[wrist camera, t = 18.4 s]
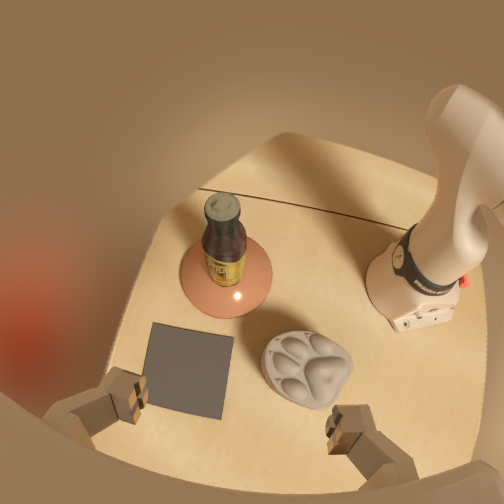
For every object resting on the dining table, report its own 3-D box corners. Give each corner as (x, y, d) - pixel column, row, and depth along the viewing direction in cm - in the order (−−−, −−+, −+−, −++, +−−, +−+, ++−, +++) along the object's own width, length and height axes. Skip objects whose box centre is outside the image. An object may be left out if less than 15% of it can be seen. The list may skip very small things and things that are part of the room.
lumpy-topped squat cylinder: (313, 414, 38) (328, 420, 31) (246, 375, 41) (246, 373, 34) (344, 361, 42) (365, 355, 35) (280, 323, 45) (288, 310, 38)
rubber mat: (233, 338, 44) (233, 337, 44) (221, 419, 38) (221, 419, 37) (153, 323, 44) (153, 322, 44) (138, 400, 38) (138, 400, 38)
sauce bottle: (202, 269, 48) (180, 198, 31) (231, 250, 50) (225, 173, 32) (223, 297, 46) (211, 237, 28) (253, 277, 48) (259, 208, 30)
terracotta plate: (276, 241, 53) (276, 238, 51) (266, 325, 45) (266, 323, 44) (193, 231, 53) (192, 227, 52) (173, 310, 46) (171, 308, 45)
